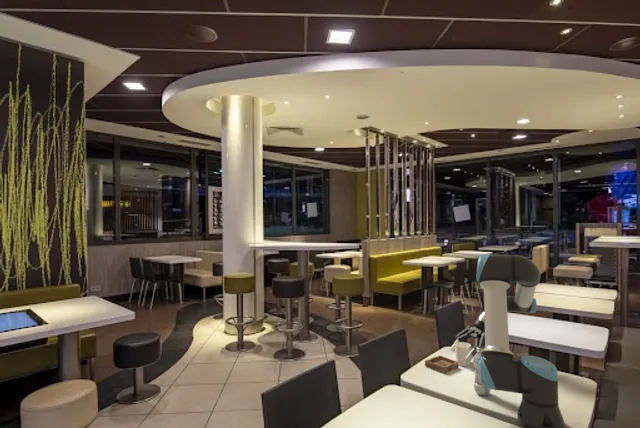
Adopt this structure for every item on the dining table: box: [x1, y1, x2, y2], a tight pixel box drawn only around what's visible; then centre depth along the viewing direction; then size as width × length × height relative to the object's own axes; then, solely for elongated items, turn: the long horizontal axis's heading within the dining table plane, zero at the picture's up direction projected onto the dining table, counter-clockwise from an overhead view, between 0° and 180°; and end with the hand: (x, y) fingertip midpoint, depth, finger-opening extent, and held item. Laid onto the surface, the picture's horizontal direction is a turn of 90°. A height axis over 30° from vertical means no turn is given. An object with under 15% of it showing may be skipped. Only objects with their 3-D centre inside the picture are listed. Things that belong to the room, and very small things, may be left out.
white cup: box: [454, 341, 472, 367], centre depth 197 cm, size 8×8×10 cm
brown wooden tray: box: [424, 355, 459, 375], centre depth 193 cm, size 12×12×3 cm
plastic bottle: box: [472, 346, 492, 397], centre depth 164 cm, size 6×7×20 cm
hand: (459, 355), depth 196 cm, fingers open, 13 cm apart
